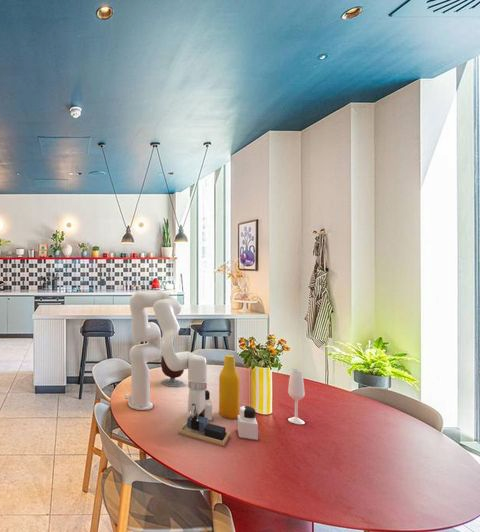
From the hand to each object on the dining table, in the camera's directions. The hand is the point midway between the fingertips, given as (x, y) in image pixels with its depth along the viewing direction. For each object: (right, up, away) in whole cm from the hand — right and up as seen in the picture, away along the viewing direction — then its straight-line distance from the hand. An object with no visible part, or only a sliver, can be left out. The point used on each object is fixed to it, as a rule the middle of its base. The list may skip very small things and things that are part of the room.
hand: (197, 426), depth 149 cm
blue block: (0, -1, 0) cm, 1 cm away
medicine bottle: (+21, -4, -1) cm, 21 cm away
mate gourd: (+6, -4, +64) cm, 64 cm away
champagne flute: (+51, -4, +13) cm, 53 cm away
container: (+8, -4, +17) cm, 19 cm away
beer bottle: (+22, -4, +19) cm, 29 cm away
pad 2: (+6, -3, -4) cm, 8 cm away
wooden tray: (+2, -3, -2) cm, 4 cm away
